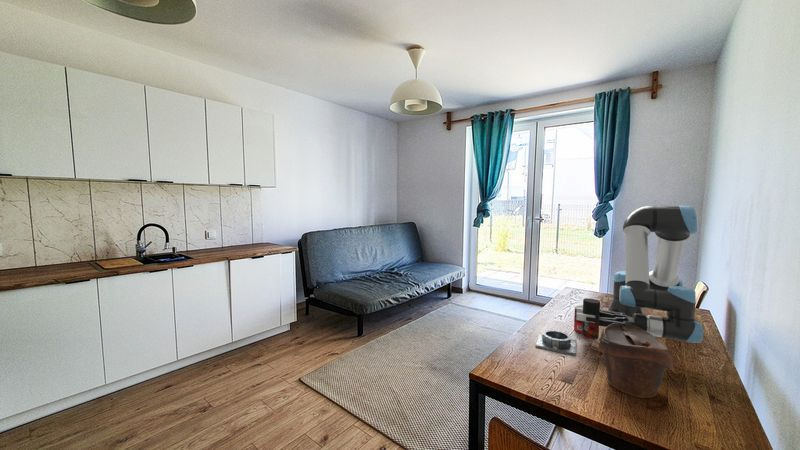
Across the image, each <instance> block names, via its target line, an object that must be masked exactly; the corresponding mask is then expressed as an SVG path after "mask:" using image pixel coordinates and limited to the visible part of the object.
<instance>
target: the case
mask: <svg viewBox="0 0 800 450" xmlns="http://www.w3.org/2000/svg"><path fill="white" fill-rule="evenodd" d="M598 342H599V343H598V349H599V350H600V351H602V352H603V360H604V366H605V371H606V376H607V382H608V384H609V385H610V386H612V387H613V388H614V389H616V390H618V391H620V392H622V393H624V394H627V395H629V396H632V397H635V398H638V399H639V398H640V399H650V398H655V397H656V396H657V395H658V392H659V390H660V387H661V384H662V380H663V377H664V375H665V372H666V369H669V370H671V371H672V372H675V369H674V361H673V360H674V359H673V357H672V355H671V354H670V351H669V350H670V349H669V348H668V347H667V345H666V344H664V343H663V342H662V341H661V340H660V339H658V338H657V337H655V336H653V335H652V334H650V333H648V332H647V331H645V330H643V329H641V328H639V327H637V326H634V325H631V324H627V323H613V324H610V325H608V326H607V327H604V328H603V329H602V331H601V333H600V336H599V338H598Z"/></svg>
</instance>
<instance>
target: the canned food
mask: <svg viewBox="0 0 800 450" xmlns="http://www.w3.org/2000/svg"><path fill="white" fill-rule="evenodd" d="M577 308H581V309H583V305H575V306H574V316H573V317H574V321H573V322H574V325H573V329H574V331H575V332H576V334H577V333H578V334H580V335H582V321H581V320H576V315H577Z"/></svg>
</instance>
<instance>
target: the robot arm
mask: <svg viewBox="0 0 800 450" xmlns="http://www.w3.org/2000/svg"><path fill="white" fill-rule="evenodd" d="M651 233H654V234H655V236H656V237H657V245H656V251H655V257H654V263H653V268H652V270H651V271H650V269H649V268H650V266H649V265H650V264H649V245H648V244H649V241H648V240H649V239H648V237H649V236H650V235H651ZM697 233H698V218H697V212H696V210H695V208H694V207H693V206H691V205H682V204H681V205H680V204H679V205H643V206H640V207H638V208H636V209H635V210H633V211H632V212H631V213H629V215H628V216H627V217H626V219H625V220H624V222H623V225H622V234H623V236H624V237H625V270H619V271H616V272H615V273H614V274H613V275H614V276H613V279H612V281H613V289H612V290H613V291H612V292H613V293H612V299H611V302H610V303H609V307H608V310H605V309H600V317H598V316H597V315H596V318H595V316H594V315H587V314H583V309H581V308H577V315H576V320H581V321H587V322H593V323H596V324H598V326H599V327H604V328H605V327H607V326H608V325H610V324H613V323H627V324H631V325H634V326H637V327H639V328H641V329H643V330H645V331H647V332H648V333H650V334H652V335H653V336H655V337H656V338H657V337H658V338H664V339H669V340H670V339H671V340H675V341H681V342H684V343H693V344H694V343H695V344H699V343H702V341H703V340H704V339H703V338H704V328H703V324H702V323H701V322H699V321H696V320H695V314H696V304H697V302H696V301H697V299H696V297H697V296H696V291H695V290H694V289H692V288H691V287H687V286H683V280H682V279H681V278H679V276H678V275H677V273H678V267H679V264H680V258H681V254H682V250H683V245H684V242H685V241H687V240H688V239H689V238H690V236H691V235H695V234H697ZM643 309H647V310H648V309H649V310H655V311H662V312H666V317H665V316H658V315H655V314H654V315H653V314H648V315H646V313H644V310H643Z"/></svg>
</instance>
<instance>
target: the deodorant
mask: <svg viewBox="0 0 800 450" xmlns="http://www.w3.org/2000/svg"><path fill="white" fill-rule="evenodd" d="M582 306H583V314H587V315H594V316H595V318H596V315H597V316H598V317H600V310H601V301H600V300H598V299H595V298H583V299H582ZM581 336H582V337H583V338H586V339H589V340H599V339H600V326H598V324H596V323H593V322H587V321H582V334H581Z"/></svg>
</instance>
